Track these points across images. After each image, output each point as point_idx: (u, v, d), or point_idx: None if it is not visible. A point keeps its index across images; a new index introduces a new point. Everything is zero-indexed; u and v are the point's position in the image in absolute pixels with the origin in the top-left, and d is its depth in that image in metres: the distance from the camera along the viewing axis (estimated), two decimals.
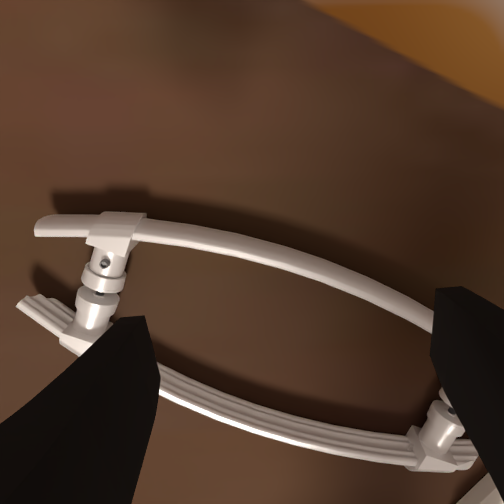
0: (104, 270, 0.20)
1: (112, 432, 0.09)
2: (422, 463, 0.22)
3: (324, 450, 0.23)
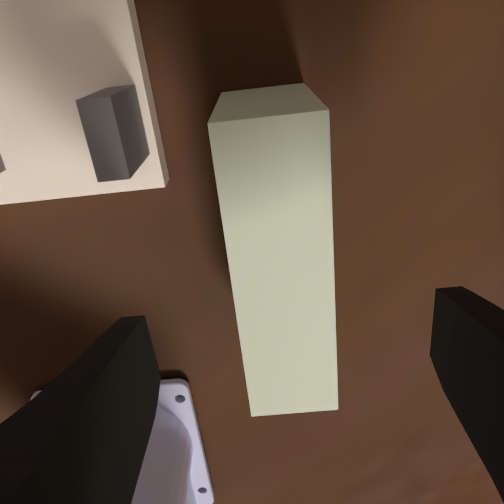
0: None
1: (112, 432, 0.09)
2: None
3: None
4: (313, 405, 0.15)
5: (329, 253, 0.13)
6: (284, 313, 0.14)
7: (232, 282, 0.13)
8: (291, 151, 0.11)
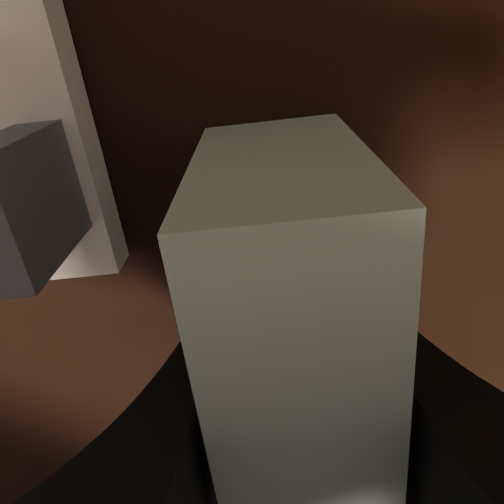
0: None
1: None
2: None
3: None
4: None
5: (401, 454, 0.07)
6: None
7: (218, 495, 0.07)
8: (338, 286, 0.05)
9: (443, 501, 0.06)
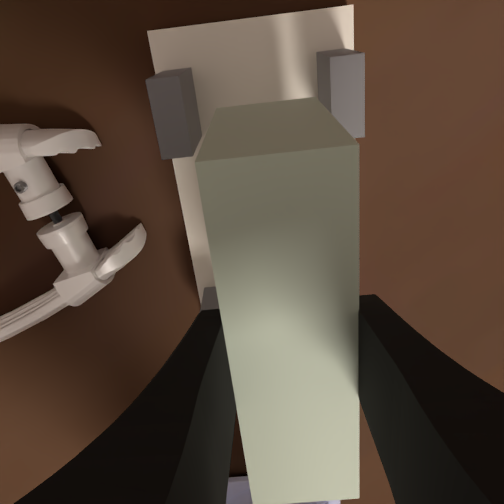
0: None
1: (214, 424, 0.09)
2: (59, 293, 0.19)
3: None
4: (329, 494, 0.12)
5: (354, 323, 0.10)
6: (294, 392, 0.11)
7: (229, 357, 0.10)
8: (307, 197, 0.08)
9: (442, 501, 0.06)
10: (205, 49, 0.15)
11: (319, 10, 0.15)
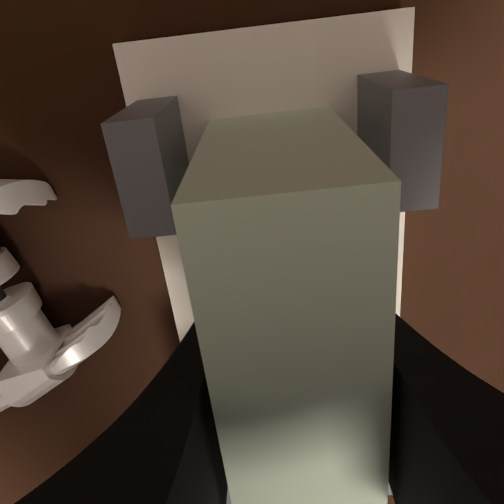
0: None
1: None
2: (2, 395, 0.14)
3: None
4: None
5: (384, 406, 0.07)
6: (305, 487, 0.08)
7: (221, 446, 0.08)
8: (327, 251, 0.06)
9: (442, 501, 0.06)
10: (198, 70, 0.11)
11: (364, 15, 0.10)
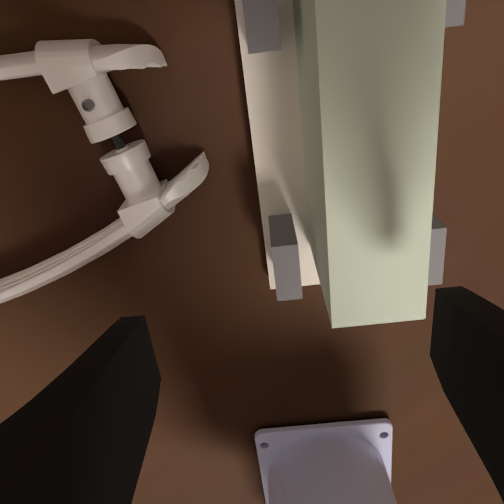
0: None
1: (112, 432, 0.09)
2: (123, 222, 0.18)
3: (43, 279, 0.20)
4: (399, 314, 0.14)
5: (433, 129, 0.12)
6: (377, 204, 0.13)
7: (324, 166, 0.12)
8: (403, 1, 0.10)
9: None
10: None
11: None
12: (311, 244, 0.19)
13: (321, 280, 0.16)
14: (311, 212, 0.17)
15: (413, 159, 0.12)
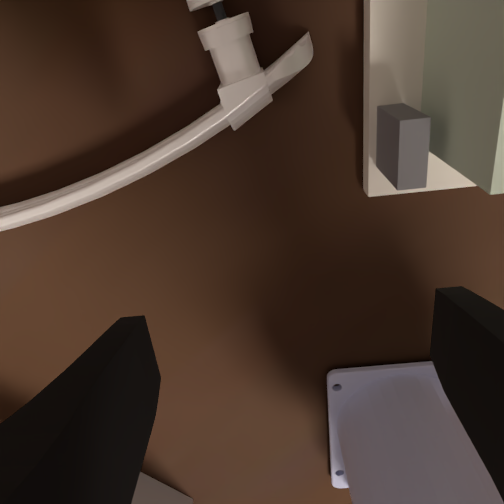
0: None
1: (112, 432, 0.09)
2: (222, 103, 0.16)
3: (123, 176, 0.18)
4: None
5: None
6: None
7: None
8: None
9: None
10: None
11: None
12: None
13: (458, 157, 0.14)
14: (439, 88, 0.15)
15: None
